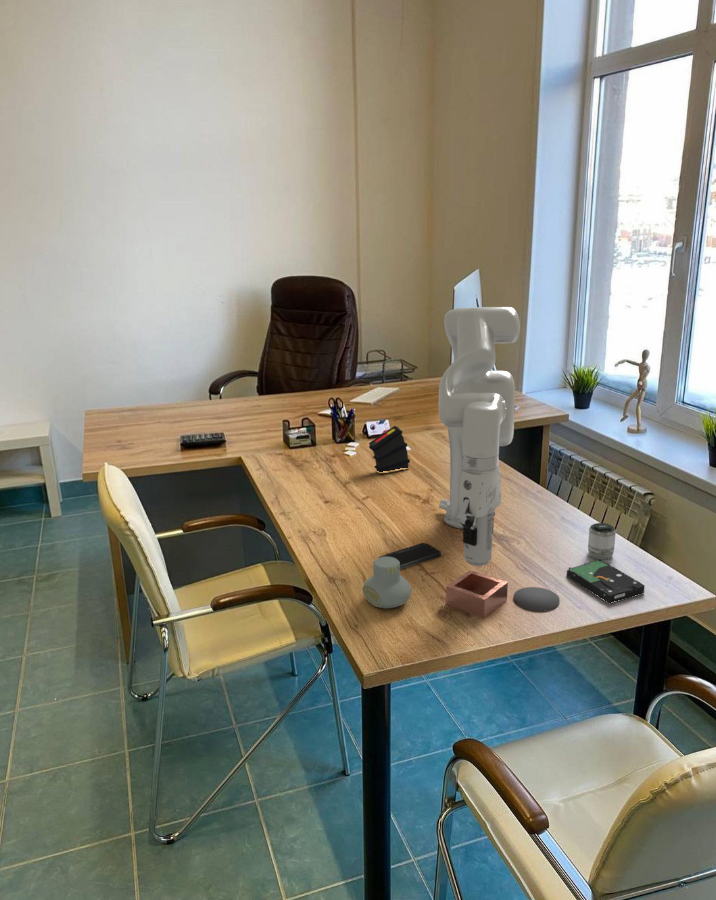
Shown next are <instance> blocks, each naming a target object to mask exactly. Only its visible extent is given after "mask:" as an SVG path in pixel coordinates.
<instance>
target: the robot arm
mask: <svg viewBox="0 0 716 900" xmlns="http://www.w3.org/2000/svg"><path fill="white" fill-rule="evenodd" d="M520 322H521V321H520V318H519V314H518V312H517V311H516V309H515V308H513V307H512V306H511V307H510V306H500V307H499V306H489V307H488V306H487V307H486V306H479V307H462V308H461V307H460V308H454V309H451V310H448V311H447V312H445V315H444V318H443V323H444V324H443V326H444V331H445V334H446V337H447V340H448V343H449V344H450V347H451V349H452V354H453V355H452V356H453V362H452V363H451V364H450V365H449V366H448V367H447V368H446V370H445V371H444V372H443V375H442V376H441V378H440V380H439V381H440V383H439V385H438V386H439V387H438V415H439V420H440V422H441V423H442V424H443V426H446V427H447V434H448V441H449V454H450V455H449V457H450V458H449V460H450V463H449V464H450V465H449V466H450V469H449V471H450V474H449V476H450V477H449V482H450V483H449V500H448V499H444V498H441V499H440V501H439V504H438V508H439V509H440V510H444V511H446V513H444V515H443V521H444V523H446V524H447V525H448V526H450V527H453V528H456V529H462V542H463V544H464V543H466V544H469V545H472V546H476V545H477V528H475V527H476V522H477V518H481V517H483V516H484V515H486V514H487V513H488V509H489V508H490V507H493V525H494V524H495V523H494V519H495V516H496V508H498V507H499V506H500V505H501V501H502V480H501V469H500V465H499V456H500V455H499V453H500V447H506V446H508V445H510V444H511V443H512V442H513V439H514V433H515V432H514V431H515V406H516V404H515V402H516V399H515V398H516V390H515V389H516V388H515V387H516V386H515V380H514V377H513V375H512V374H511V373H510V372H509V371H506V370H493V368H494V367H495V364H496V362H497V361H496V359H497V358H496V348H495V347H496V346H495V344H513V343H516V342H517V341H518V338H519V335H520V332H521V331H520V330H521V325H520V324H521V323H520ZM452 391H453V392H452ZM469 510H471V513H472V514H471V513H468V511H469ZM468 516H470V517H473V518H472V523H471V521H470V520H468ZM493 534H494V527H493V528H492V535H493Z"/></svg>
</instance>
